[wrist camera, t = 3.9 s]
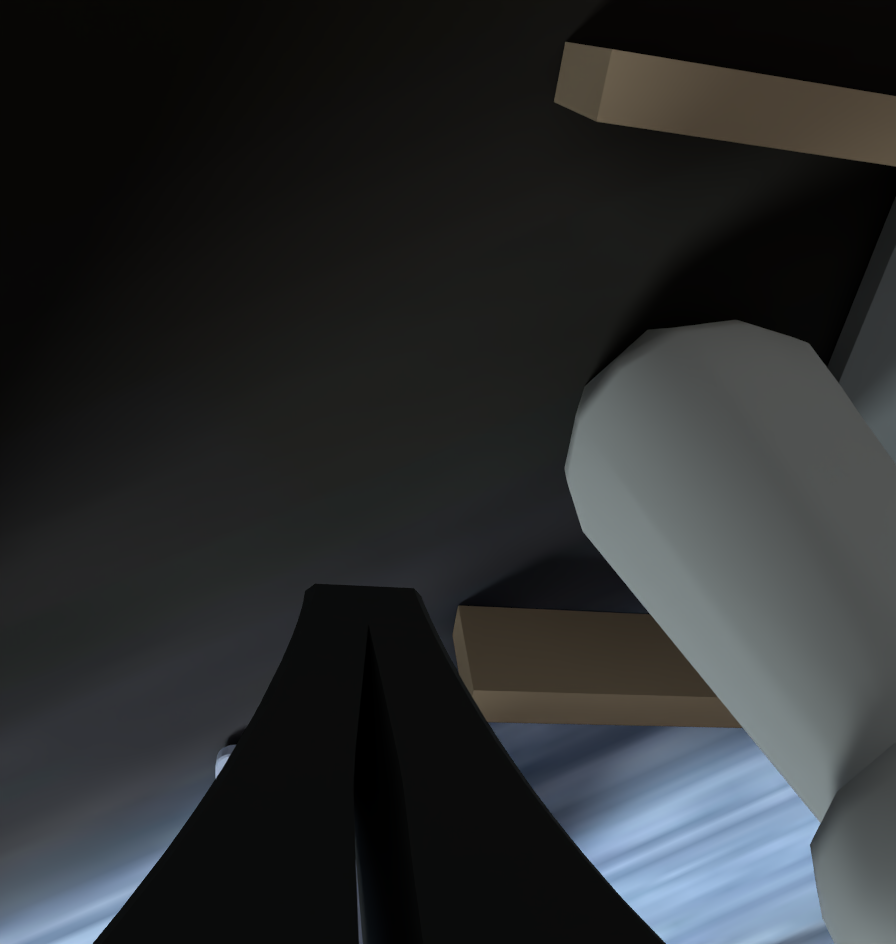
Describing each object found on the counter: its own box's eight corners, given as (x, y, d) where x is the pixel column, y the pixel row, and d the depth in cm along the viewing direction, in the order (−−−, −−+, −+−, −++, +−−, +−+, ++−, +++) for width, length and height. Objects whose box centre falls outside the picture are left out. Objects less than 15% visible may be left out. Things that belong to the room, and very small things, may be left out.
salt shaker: (738, 233, 17) (1534, 699, 5) (822, 435, 19) (1470, 1022, 8) (496, 381, 18) (746, 1019, 7) (608, 552, 20) (921, 1211, 9)
